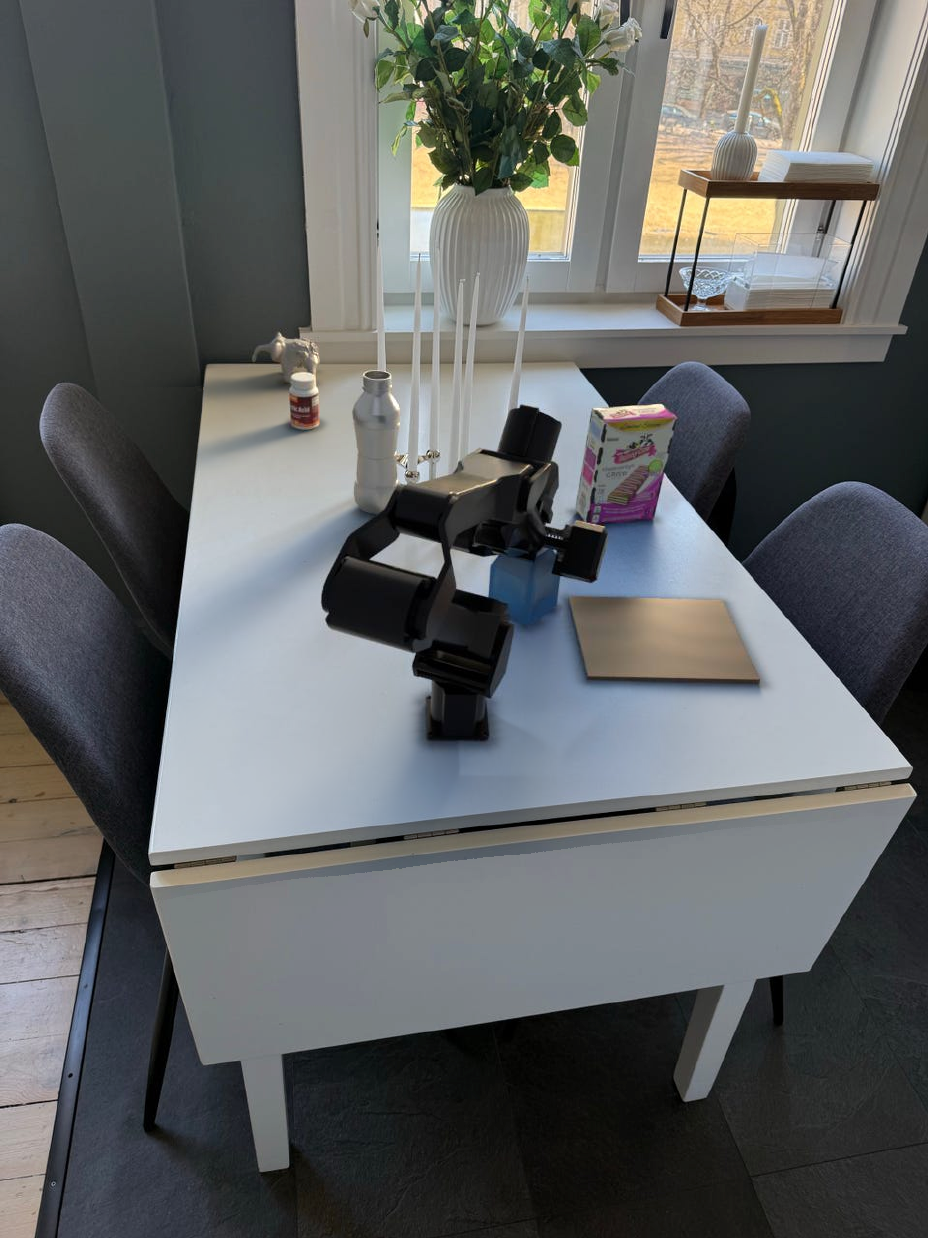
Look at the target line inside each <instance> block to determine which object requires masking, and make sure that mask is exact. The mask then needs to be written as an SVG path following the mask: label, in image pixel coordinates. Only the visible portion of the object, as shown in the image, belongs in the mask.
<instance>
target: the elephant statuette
mask: <svg viewBox="0 0 928 1238" xmlns="http://www.w3.org/2000/svg"><path fill="white" fill-rule="evenodd" d="M319 349H320V347H319V346H317V345H316V344H315V343H314V342H313V341H312V342H311V341H310V340H309V339H307V338H306V337H302V338H296V337H295V338H294V339H292V338H286V337H284V336H282V334H281V333H280V331H276V333H275V334H274V339H272V340H271V341H270V342H269V343H267V344H262V345H258V346H256V347H255V349H254V352H253V355H252V356H251V361H252V362H253V363H255V362H256V361H257V357H258V354H259V353H260V352H261V351H262V352H263V351H264V352H268V354H270V358H271V360H272V361H273V362H276V363H279V364H280V366H281V370H282V373H283V381H284V382H285V383H287V384H291V376H292V375H293V371H294V370H295V368H297V369H299V368H300V369H301V368H304V369H306V372H307V373H311V374H313V375H315V377H316V375H317V368H318V366H320V364H321V363H320V362H321V361H320V356H319ZM316 378H317V377H316Z"/></svg>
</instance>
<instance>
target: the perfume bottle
mask: <svg viewBox="0 0 928 1238" xmlns="http://www.w3.org/2000/svg"><path fill="white" fill-rule="evenodd" d="M555 559H556V551H555V550H552V549H548V548H544V547H542V549H541V550H540V551H539V552H538V553H537V556H536V559H535V562H534V563H531V562H527V561H523V560H519V559H515V558H511V557H507V556H503V555H497V556H496V558H495V559H494V560H493V561H492V562H491V564H490V565H489V566H490V567H489V582H488V594H487V595H488V596H487V597H489V598H493V599H497V600H499V601H500V602H503V603H507V604H508V608H507V610H506V611H508V612H509V614H510V617H511V619H510V620H512V621H513V622H516V623H518V624H520V625H522V626H524V627H526V628H530V627H531V626H532V625H534V624H535V623H536V622H537V621H539V620H540V619H541V618H543V617H544V616H545V615H547V614H548V613H549V612H551V611H552V610H554V609H555V608H556V607H557V606H558V600H559V599H558V598H559V590H560V583H561V576H558V575H554V574H551V572H552V569H553V565H554V562H555Z"/></svg>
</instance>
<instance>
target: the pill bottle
mask: <svg viewBox="0 0 928 1238" xmlns="http://www.w3.org/2000/svg"><path fill="white" fill-rule="evenodd" d="M288 394H289V413H290V425H291V426H292V427H293V428H294V429H298V430H304V431H308V430H312V429H315V428H317V427H319V425H320V407H319V406H320V405H319V404H320V403H319V388H318V387H317V377H315V375H313V374H311V373H308V372H307V371H306V372H305V371H299V372H295V373H292V376H291V383H290V387H289V390H288Z"/></svg>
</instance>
